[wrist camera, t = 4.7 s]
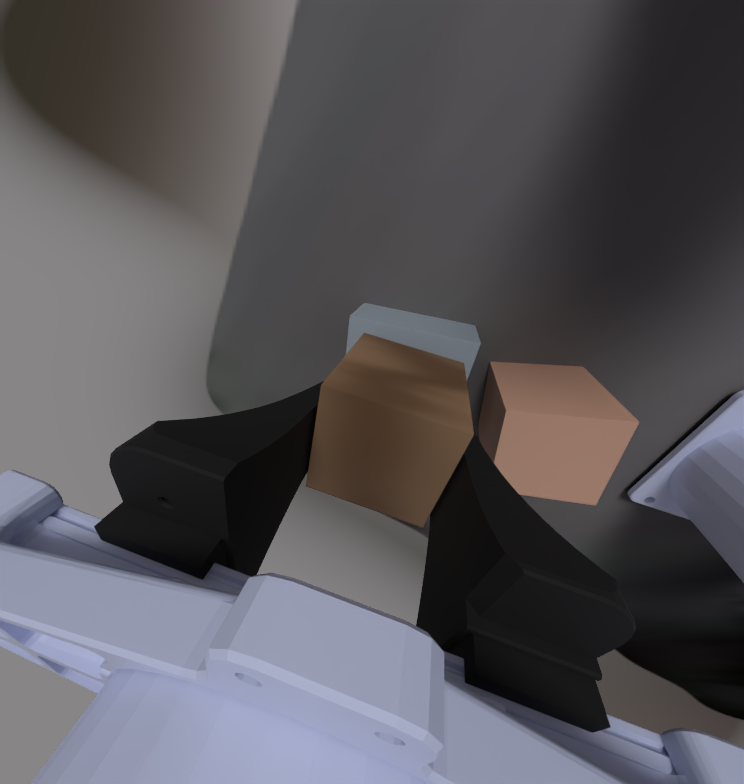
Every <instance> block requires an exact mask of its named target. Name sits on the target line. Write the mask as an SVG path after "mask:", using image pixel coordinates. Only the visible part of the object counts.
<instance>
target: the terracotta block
mask: <svg viewBox="0 0 744 784" xmlns="http://www.w3.org/2000/svg"><path fill="white" fill-rule="evenodd" d="M638 424H639V421H638V420H637V419H636V418H635V417H634V416H633V415H632V414H631V413H630V412H629V411H628V410H627V409H626V408H625V407H624V406H623V405H622V404H621V403H620V402H619V401H618V400H617V399H616V398H615V397H614V396H613V395H612V394H611V393H610V392H609V391H608V390H607V389H605V388H604V387H603V386H602V385H601V384H600V383H599V382H598V381H597V380H596V379H595V378H594V377H593V376H592V375H591V374H590V373H589V372H588V371H587V370H586V369H585V368H584V367H583V366H564V365H545V364H526V363H507V362H490V364H489V370H488V375H487V380H486V386H485V391H484V397H483V402H482V408H481V413H480V419H479V424H478V433H479V439H480V443H481V445H482V446H483V448H484V449H485V451H486V452H487V454H488V455H489V457H490V458H491V460H492V461H493V463H494V464H495V465H496V467H497V468H498V469H499V471H500V472H501V473H502V475H503V476H504V477H505V479H506V480H507V481H508V482H509V483H510V485H511V486H512V487H513V488H514V489H515V490H516V492H517V493H518V494H520V495H527V496H533V497H540V498H547V499H554V500H561V501H568V502H575V503H582V504H589V505H596V504H597V502H598V500H599V498H600V496H601V494H602V492H603V490H604V488H605V487H606V485H607V483H608V481H609V479H610V477H611V475H612V473H613V471H614V469H615V468H616V466H617V464H618V462H619V460H620V458H621V456H622V454H623V452H624V450H625V449H626V447H627V445H628V443H629V441H630V439H631V437H632V435H633V433H634V432H635V430H636V428H637V426H638Z"/></svg>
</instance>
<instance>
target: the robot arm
mask: <svg viewBox="0 0 744 784" xmlns="http://www.w3.org/2000/svg"><path fill="white" fill-rule="evenodd" d="M323 382H324V381H323ZM323 382H321V383H319V384H317V385H315V386H313V387H311V388H309V389H306V390H304V391H302V392H300V393H298V394H295V395H293V396H290V397H288V398H285V399H283V400H280V401H278V402H275V403H272V404H268V405H265V406H262V407H258V408H254V409H250V410H245V411H241V412H236V413H231V414H226V415H220V416H212V417H205V418H196V419H184V420H168V421H157V422H156V423H154V424H152V425H151V426H149V427H148V428H146V429H145V430H143V431H142V432H140V433H139V434H137V435H136V436H134V437H133V438H131V439H130V440H128V441H127V442H125V443H123V444H122V445H121V446H119V447H118V448H116V449H115V450H114V451H113V452H112V453H111V457H110V464H109V465H110V469H111V473H112V476H113V478H114V480H115V483H116V485H117V487H118V490H119V492H120V495H121V497H122V500H123V503H121V504H120V505H119V506H118V507H116V508H115V509H114V510H113V511H112V512H111V513H110V514H108V515H107V516H106V517H105V518H103V519H100V518H97V517H95V516H92V515H90V514H87V513H84V512H82V511H79V510H77V509H74V508H72V507H69V506H66V505H64V504H63V500H62V497H61V496H60V494H59V492H58V491H57V490H56V489H55V488H54V487H52V486H51V485H50V484H48V483H46V482H44V481H41V480H39V479H36V478H34V477H31V476H28V475H26V474H23V473H21V472H18V471H15V470H9V471H7V472H5V473H3V474H1V475H0V646H1V647H2V648H4V649H7V650H9V651H11V652H13V653H15V654H17V655H19V656H21V657H23V658H25V659H27V660H29V661H31V662H33V663H36V664H38V665H40V666H42V667H44V668H46V669H48V670H50V671H52V672H54V673H56V674H58V675H60V676H62V677H64V678H66V679H68V680H70V681H72V682H75V683H77V684H79V685H81V686H83V687H85V688H87V689H89V690H91V691H93V692H95V693H97V694H98V695H97V696H96V697H95V699H94V700H93V701H92V703H91V704H90V705H89V707H88V708H87V709H86V711H85V712H84V713H83V714H82V716H81V717H80V719H79V720H78V721H77V722H76V724H75V725H74V726H73V728H72V729H71V731H70V732H69V733H68V735H67V736H66V737H65V738H64V740H63V741H62V742H61V744H60V745H59V747H58V748H57V749H56V750H55V752H54V753H53V754H52V756H51V757H50V758H49V760H48V761H47V762H46V764H45V765H44V766H43V768H42V769H41V770H40V772H39V773H38V774H37V776H36V777H35V778H34V780H33V781H32V782H31V784H744V747H741V746H738V745H736V744H733V743H730V742H728V741H725V740H723V739H720V738H717V737H715V736H712V735H709V734H707V733H704V732H701V731H698V730H694V729H688V728H675V729H671V730H667V731H665V732H663V733H662V735H660V734H658V733H655V732H653V731H650V730H648V729H645V728H642V727H640V726H637V725H635V724H632V723H629V722H627V721H624V720H621V719H619V718H616V717H614V716H611V715H609V714H606V712H605V708H604V705H603V703H602V699H601V696H600V693H599V690H598V687H597V684H596V681H595V680H597V681H599V680H601V679H602V673H601V670H600V667H599V664H598V661H597V659H596V658H597V657H600V656H601V655H604V654H605V653H607V652H610V651H612V650H613V649H616V648H617V647H619V646H621V645H623V644H624V643H626V642H627V641H629V640H630V639H631V637H632V635H633V633H634V632H635V630H636V625H635V619H634V617H633V615H632V613H631V611H630V609H629V607H628V605H627V603H626V601H625V599H624V597H623V595H622V592H621V590H620V588H619V586H618V584H617V582H616V580H615V579H614V578H612V577H611V576H610V575H609V574H607V573H606V572H605V571H603V570H602V569H601V568H600V567H598V566H597V565H596V564H595V563H593V562H592V561H591V560H589V559H588V558H587V557H586V556H584V555H583V554H582V553H581V552H579V551H578V550H577V549H576V548H574V547H573V546H572V545H571V544H570V543H569V542H568V541H566V540H565V539H564V538H563V537H562V536H561V535H560V534H558V533H557V532H556V531H555V530H554V529H553V528H552V527H551V526H550V525H549V524H547V523H546V522H545V521H544V520H543V519H542V518H541V517H540V516H539V515H538V514H537V513H536V512H535V511H534V510H533V509H532V508H531V507H530V506H529V505H528V504H527V503H526V502H525V501H524V499H523V498H522V497H521V496H520V495H519V494H518V493H517V492H516V490H515V489H514V488H513V487H512V486H511V485H510V483H509V482H508V481H507V480H506V479H505V477H504V476H503V475H502V473H501V472H500V471H499V469H498V468H497V467H496V465H495V464H494V463H493V461H492V460H491V458H490V457H489V455H488V454H487V452H486V451H485V449H484V448H483V446H482V445H481V443H480V441H479V440H478V438H477V436H476V435H475V433H474V436H473V437H472V439H471V441H470V443H469V445H468V446H467V448H466V450H465V452H464V454H463V455H462V457H461V459H460V461H459V463H458V464H457V466H456V468H455V470H454V472H453V474H452V475H451V477H450V479H449V481H448V483H447V484H446V486H445V488H444V490H443V492H442V493H441V495H440V497H439V499H438V501H437V502H436V504H435V506H434V508H433V510H432V511H431V513H430V531H429V540H428V548H427V557H426V565H425V571H424V579H423V586H422V592H421V599H420V606H419V612H418V619H417V624H416V626H415V625H413V624H411V623H409V622H407V621H405V620H403V619H400V618H397V617H395V616H392V615H389V614H387V613H384V612H382V611H379V610H376V609H374V608H371V607H368V606H366V605H363V604H360V603H358V602H355V601H353V600H350V599H347V598H345V597H342V596H340V595H337V594H334V593H332V592H329V591H326V590H324V589H321V588H319V587H316V586H313V585H311V584H308V583H305V582H303V581H300V580H297V579H294V578H291V577H287V576H282V575H278V574H274V573H268V574H260V575H257V573H258V570H259V568H260V566H261V564H262V562H263V559H264V557H265V555H266V553H267V551H268V549H269V547H270V544H271V542H272V540H273V538H274V536H275V534H276V532H277V530H278V528H279V525H280V523H281V521H282V519H283V517H284V515H285V513H286V511H287V509H288V507H289V505H290V503H291V501H292V499H293V497H294V495H295V493H296V491H297V489H298V487H299V485H300V484H301V482H302V480H303V478H304V477H305V475H306V474H307V472H308V468H309V462H310V455H311V448H312V442H313V435H314V429H315V422H316V415H317V409H318V402H319V396H320V389H321V384H322V383H323ZM628 496H629V497H630V499H631V500H632V501H634V502H636V503H639V504H643V505H646V506H649V507H652V508H655V509H658V510H661V511H664V512H667V513H670V514H673V515H676V516H680V517H683V518H686V519H689V520H691V521H692V522H693V523H694V525H695V526H696V527H697V528H698V529H699V531H700V532H701V533H702V534H703V535H704V536H705V538H706V539H707V540H708V541H709V542H710V544H711V545H712V546H713V547H714V548H715V549H716V551H717V552H718V553H719V554H720V555H721V557H722V558H723V559H724V560H725V561H726V562H727V564H728V565H729V566H730V567H731V568H732V570H733V571H734V572H735V573H736V574H737V576H738V577H739V578H740V579H741V580H742V581H743V583H744V390H742V391H740V392H737V393H736V394H734V395H733V396H732V397H731V398H730V399H728V400H727V401H726V402H725V403H724V404H723V405H722V406H721V407H720V408H719V409H718V410H716V411H715V412H714V413H713V414H712V415H711V416H710V417H709V418H708V419H707V420H705V421H704V422H703V423H702V424H701V425H700V426H699V427H698V428H697V429H696V430H694V431H693V432H692V433H691V434H690V435H689V436H688V437H687V438H686V439H685V440H683V441H682V442H681V443H680V444H679V445H678V446H677V447H676V448H675V449H674V450H672V451H671V452H670V453H669V454H668V455H667V456H666V457H665V458H664V459H663V460H661V461H660V462H659V463H658V464H657V465H656V466H655V467H654V468H653V469H652V470H651V471H649V472H648V473H647V474H646V475H645V476H644V477H643V478H642V479H641V480H640V481H638V482H637V483H636V484H635V485H634V486H633V487H632V488H631V489H630V490H629V491H628ZM647 497H648V498H647Z"/></svg>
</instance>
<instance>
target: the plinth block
mask: <svg viewBox="0 0 744 784" xmlns="http://www.w3.org/2000/svg"><path fill="white" fill-rule="evenodd" d="M363 333H367V334H370V335H374V336H377V337H380V338H383V339H387V340H390V341H393V342H397V343H400V344H403V345H406V346H410V347H413V348H416V349H419V350H423V351H426V352H429V353H433V354H436V355H439V356H442V357H446V358H449V359H452V360H456V361H459V362H462V363H464V365H465V372H466V380H468V377H469V374H470V371H471V369H472V366H473V363H474V360H475V358H476V355H477V352H478V350H479V347H480V344H481V342H480V339H479V336H478V333H477V329H476V326H475V325H470V324H465V323H460V322H455V321H450V320H446V319H441V318H436V317H431V316H426V315H421V314H416V313H411V312H406V311H401V310H397V309H392V308H387V307H382V306H377V305H372V304H367V303H364V304H362V305H361V306H360V307H359V308H358V309H357V310H356V311H355V312H354V313H352V314H351V315H350V319H349V329H348V339H347V349H346V354H347V353H348V352H349V350H350V349H351V348H352V347H353V346H354V344H355V343H356V342H357V341H358V340H359V338H360V337H361V336H362V335H363Z"/></svg>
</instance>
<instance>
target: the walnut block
mask: <svg viewBox="0 0 744 784" xmlns="http://www.w3.org/2000/svg"><path fill="white" fill-rule="evenodd" d="M473 436H474V430H473V423H472V416H471V408H470V401H469V394H468V387H467V380H466V372H465V365H464V363H462V362H459V361H456V360H452V359H449V358H446V357H442V356H439V355H436V354H433V353H429V352H426V351H423V350H419V349H416V348H413V347H410V346H406V345H403V344H400V343H397V342H393V341H390V340H387V339H383V338H380V337H377V336H374V335H370V334H367V333H363V335H362V336H361V337H360V338H359V340H358V341H357V342H356V343H355V344H354V346H353V347H352V348H351V349H350V350H349V352H348V353H347V354H346V355H345V357H344V358H343V359H342V360H341V361H340V363H339V364H338V365H337V366H336V367H335V369H334V370H333V371H332V372H331V374H330V375H329V376H328V377H327V378H326V380H325V381H324V382H323V383H322V384H321V389H320V396H319V402H318V409H317V415H316V422H315V429H314V435H313V442H312V448H311V455H310V462H309V468H308V475H307V481H306V486H307V487H310V488H312V489H315V490H318V491H321V492H324V493H326V494H329V495H332V496H335V497H338V498H340V499H343V500H346V501H349V502H352V503H354V504H357V505H360V506H363V507H366V508H369V509H371V510H374V511H377V512H380V513H383V514H385V515H388V516H391V517H394V518H397V519H399V520H402V521H405V522H408V523H411V524H413V525H416V526H419V527H422V528H423V526H424V524H425V522H426V520H427V519H428V517H429V515H430V513H431V511H432V510H433V508H434V506H435V504H436V502H437V501H438V499H439V497H440V495H441V493H442V492H443V490H444V488H445V486H446V484H447V483H448V481H449V479H450V477H451V475H452V474H453V472H454V470H455V468H456V466H457V464H458V463H459V461H460V459H461V457H462V455H463V454H464V452H465V450H466V448H467V446H468V445H469V443H470V441H471V439H472V437H473Z"/></svg>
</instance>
